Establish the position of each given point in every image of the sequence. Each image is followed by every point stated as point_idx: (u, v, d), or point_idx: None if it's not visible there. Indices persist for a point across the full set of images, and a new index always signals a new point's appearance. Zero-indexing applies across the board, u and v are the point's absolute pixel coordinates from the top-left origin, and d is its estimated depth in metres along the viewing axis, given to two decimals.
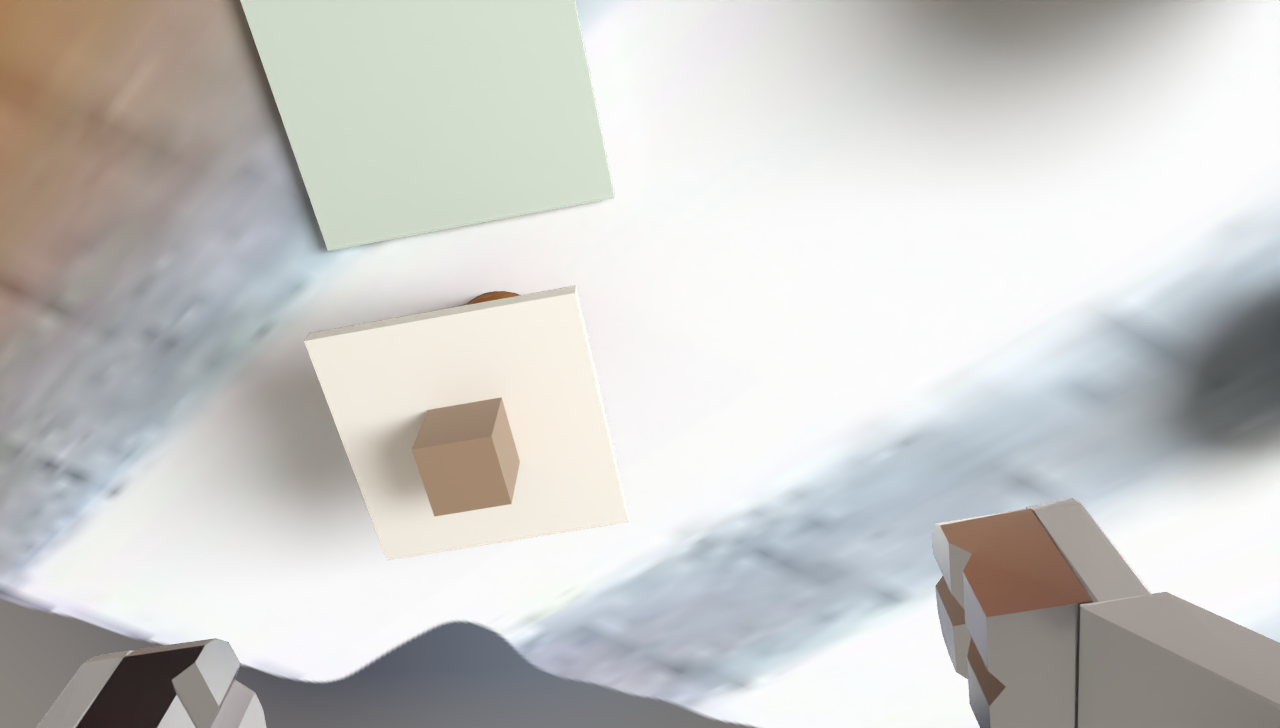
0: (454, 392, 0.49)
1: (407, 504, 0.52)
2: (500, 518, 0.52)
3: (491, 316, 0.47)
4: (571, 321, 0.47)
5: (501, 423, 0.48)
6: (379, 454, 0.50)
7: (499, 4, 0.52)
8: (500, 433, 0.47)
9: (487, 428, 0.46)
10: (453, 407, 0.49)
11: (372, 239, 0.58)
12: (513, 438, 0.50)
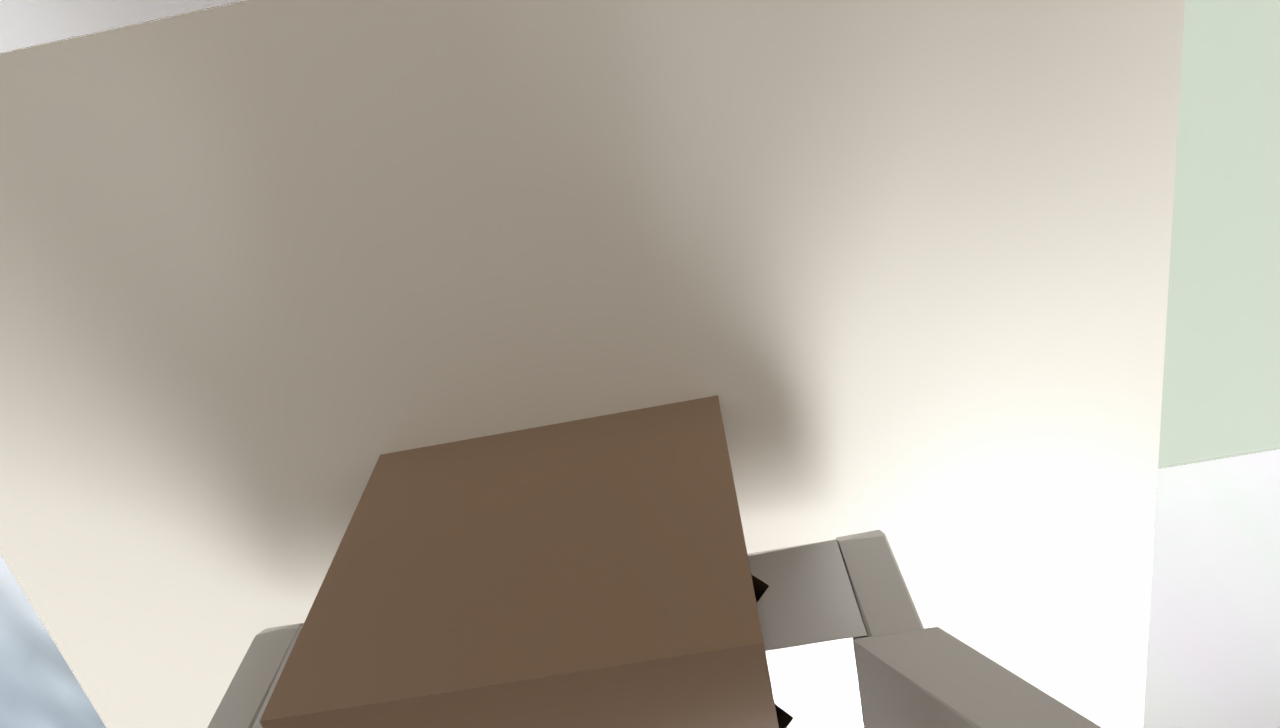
0: (798, 502, 0.11)
1: (159, 260, 0.10)
2: (175, 633, 0.12)
3: (1112, 640, 0.12)
4: None
5: None
6: (456, 148, 0.09)
7: None
8: None
9: None
10: None
11: None
12: None
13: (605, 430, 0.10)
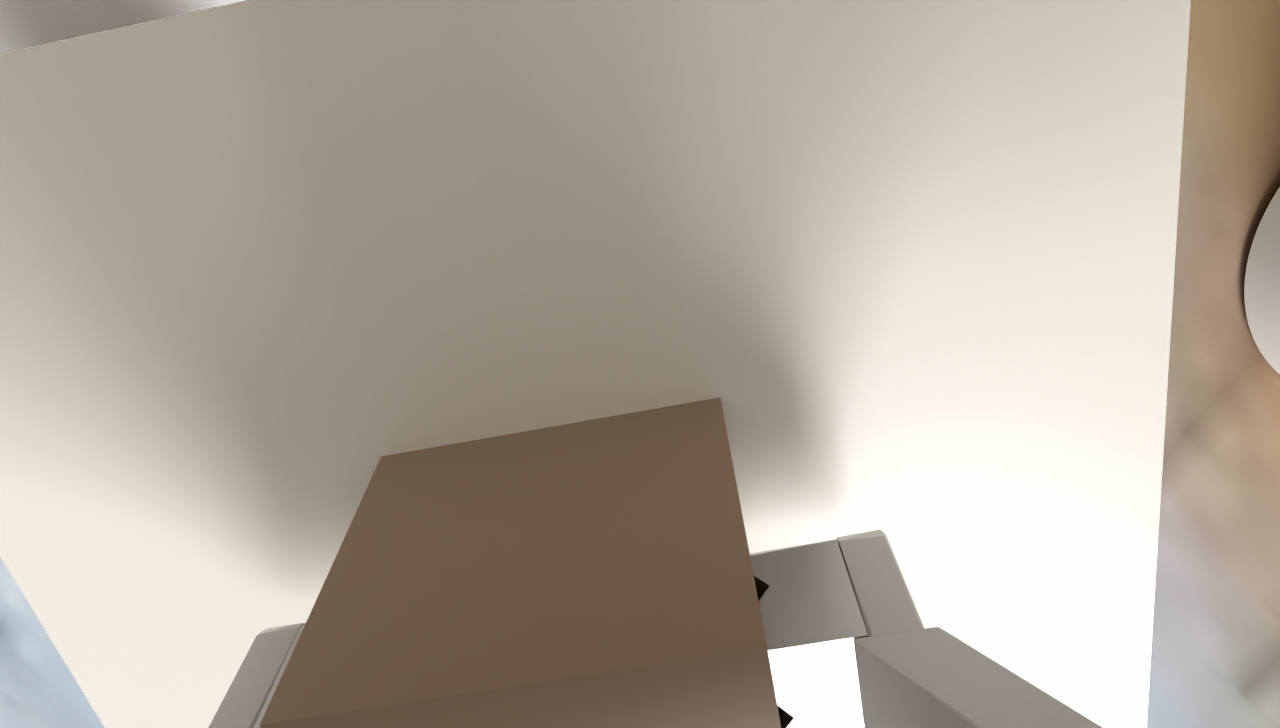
0: (801, 505, 0.11)
1: (160, 261, 0.10)
2: (175, 635, 0.12)
3: (1116, 644, 0.12)
4: None
5: None
6: (458, 149, 0.09)
7: None
8: None
9: None
10: None
11: None
12: None
13: (606, 432, 0.10)
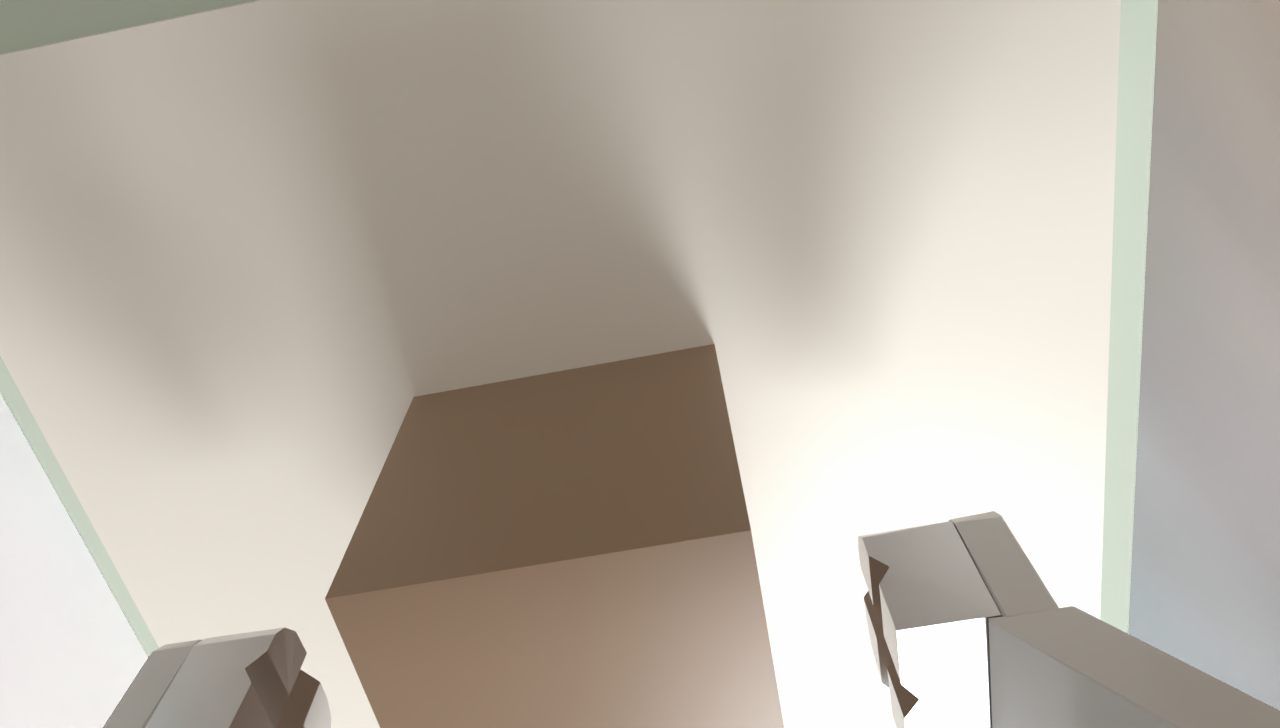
0: (787, 443, 0.13)
1: (223, 219, 0.11)
2: (225, 562, 0.13)
3: (1069, 572, 0.14)
4: None
5: None
6: (486, 121, 0.11)
7: None
8: None
9: None
10: None
11: None
12: None
13: (614, 374, 0.12)
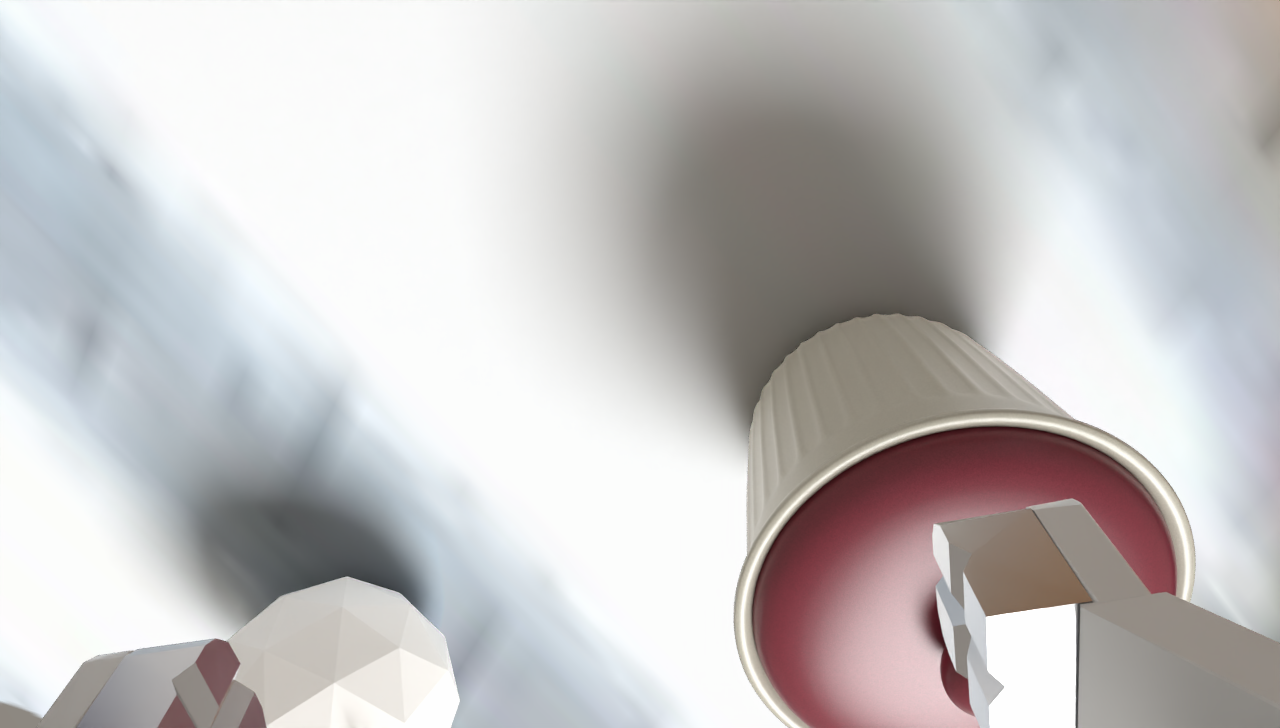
0: None
1: None
2: None
3: None
4: None
5: None
6: None
7: None
8: None
9: None
10: None
11: None
12: None
13: None
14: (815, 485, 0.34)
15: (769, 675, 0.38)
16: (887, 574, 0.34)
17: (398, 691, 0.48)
